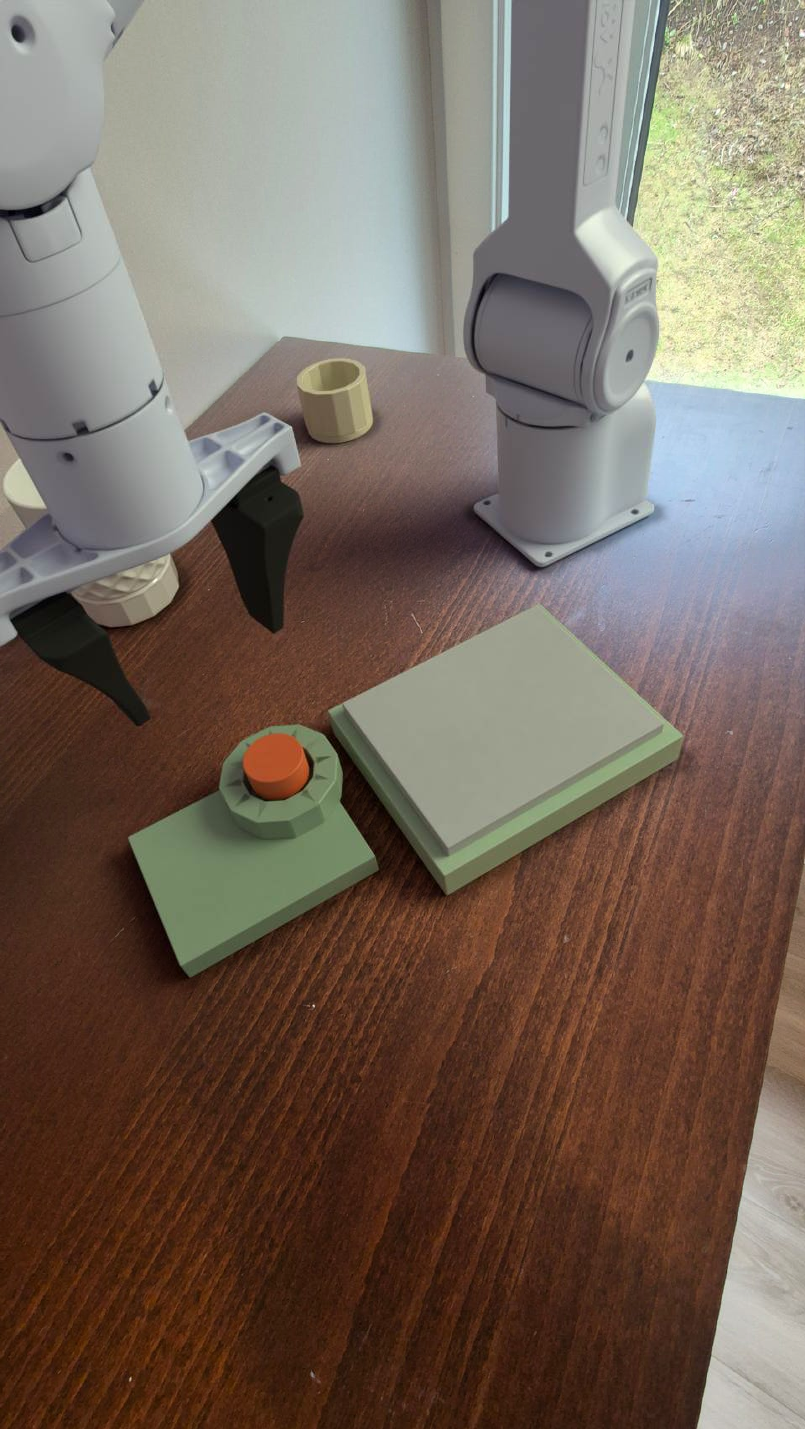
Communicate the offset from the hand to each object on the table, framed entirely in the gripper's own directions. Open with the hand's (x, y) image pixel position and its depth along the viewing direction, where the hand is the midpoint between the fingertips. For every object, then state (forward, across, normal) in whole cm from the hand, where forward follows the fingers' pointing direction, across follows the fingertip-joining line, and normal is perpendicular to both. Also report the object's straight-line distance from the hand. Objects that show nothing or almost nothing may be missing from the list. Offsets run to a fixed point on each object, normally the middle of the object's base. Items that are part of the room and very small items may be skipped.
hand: (202, 664), depth 38 cm
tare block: (+8, +3, +5) cm, 10 cm away
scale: (+8, -10, +9) cm, 16 cm away
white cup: (+8, -3, -18) cm, 20 cm away
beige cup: (+8, -26, -23) cm, 35 cm away
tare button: (+6, 0, +4) cm, 7 cm away
